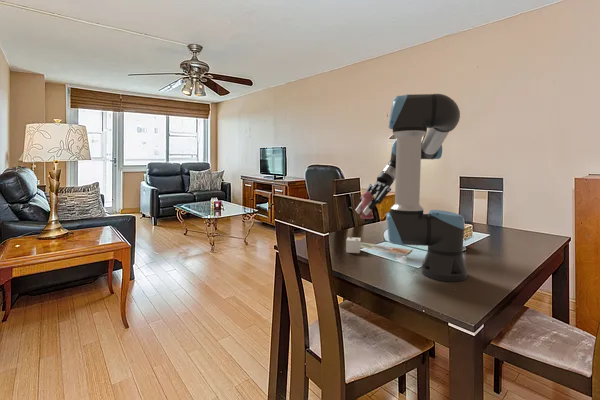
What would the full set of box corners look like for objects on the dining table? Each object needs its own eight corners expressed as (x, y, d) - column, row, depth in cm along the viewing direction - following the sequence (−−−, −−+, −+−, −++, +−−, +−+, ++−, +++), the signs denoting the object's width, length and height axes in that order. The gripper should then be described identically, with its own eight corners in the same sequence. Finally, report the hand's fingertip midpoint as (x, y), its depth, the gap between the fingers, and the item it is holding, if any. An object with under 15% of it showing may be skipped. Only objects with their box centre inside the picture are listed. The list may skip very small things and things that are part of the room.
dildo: (370, 219, 153) (370, 192, 151) (358, 218, 156) (358, 191, 155) (375, 217, 158) (375, 191, 156) (363, 216, 161) (364, 190, 159)
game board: (405, 255, 143) (405, 254, 143) (353, 247, 157) (353, 246, 157) (411, 250, 151) (411, 250, 150) (361, 243, 165) (361, 242, 165)
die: (359, 254, 146) (359, 240, 145) (346, 253, 147) (346, 239, 146) (360, 250, 151) (360, 237, 151) (347, 249, 153) (347, 236, 152)
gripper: (405, 183, 155) (378, 220, 149) (378, 181, 170) (353, 215, 164) (397, 172, 152) (369, 209, 145) (370, 171, 167) (344, 205, 161)
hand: (360, 212), depth 155 cm, fingers closed on dildo, 5 cm apart
